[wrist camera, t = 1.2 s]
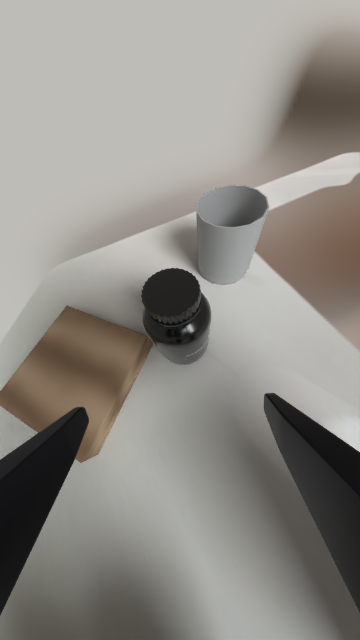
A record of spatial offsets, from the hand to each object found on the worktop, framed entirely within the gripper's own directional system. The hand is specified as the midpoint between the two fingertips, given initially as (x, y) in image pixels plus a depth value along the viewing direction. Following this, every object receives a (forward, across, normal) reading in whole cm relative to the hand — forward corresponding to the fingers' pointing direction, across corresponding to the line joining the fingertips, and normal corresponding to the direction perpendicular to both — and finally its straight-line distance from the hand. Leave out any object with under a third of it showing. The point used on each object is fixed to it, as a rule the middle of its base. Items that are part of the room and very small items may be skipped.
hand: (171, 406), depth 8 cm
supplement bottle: (+15, 0, +4) cm, 16 cm away
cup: (+24, -8, -5) cm, 26 cm away
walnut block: (+13, +14, +6) cm, 20 cm away
